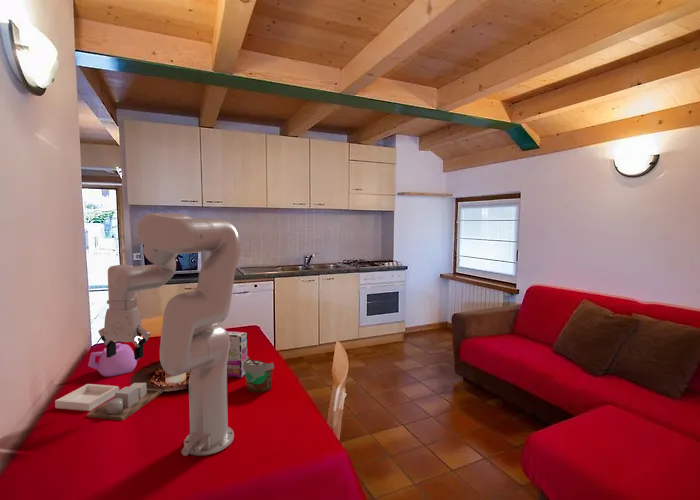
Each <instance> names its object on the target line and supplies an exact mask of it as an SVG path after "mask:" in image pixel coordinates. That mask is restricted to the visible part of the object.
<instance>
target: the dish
mask: <svg viewBox="0 0 700 500" xmlns="http://www.w3.org/2000/svg"><path fill="white" fill-rule="evenodd" d="M119 390H120V387H119V385H118V386H117V385H109V384H107V385H106V384H94V383H86V384H84V385H83V386H81V387H78V388H77V389H75V390H72V391H71V392H69V393H67V394H65V395H64V396H61V397H60V398H58V399H55V400H54V403H55V404H54V407H55V409H59V410H60V409H61V410H69V411H70V410H72V411H84V412H91V411H93V410H95V409H96V408H98V407H100V406H101V405H103V404H104V403H106V402H108V401H109V400H111V399H113V398H114V397H115V393H116V392H117V391H119Z"/></svg>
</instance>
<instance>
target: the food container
mask: <svg viewBox="0 0 700 500" xmlns="http://www.w3.org/2000/svg"><path fill="white" fill-rule="evenodd" d="M243 368H244V369H245V373H246V375H245V382H246V389H247V391H249V392H250V393H256V394H257V393H265V392H269V391H270V390H272V384H273V383H272V382H273V381H272V380H273V371H274V369H275V364H274V362H273V361H272V362H270V363H267V362H264V361H262V360H254V359H251V358H250V356H247V358H246V359H245V361H244V364H243Z"/></svg>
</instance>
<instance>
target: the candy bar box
mask: <svg viewBox="0 0 700 500" xmlns="http://www.w3.org/2000/svg"><path fill="white" fill-rule="evenodd" d="M226 331H227V332H228V334H229V337H230V351H229V356H228V362H227V377H231V378H239V379H241V378H243V377H245V376H246V373H245V369H244V368H243V364H244V361H245V359H246V358H247V357H248V335H247V334H248V333H247V332H242V331H241V332H240V331H231V330H229V331H228V330H226Z"/></svg>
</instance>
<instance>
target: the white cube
mask: <svg viewBox="0 0 700 500" xmlns="http://www.w3.org/2000/svg"><path fill="white" fill-rule="evenodd" d="M128 387H138V396H139V398H142V397H143V396H144V395H145V394H146V393H147V389H148V388H147V382H133V383H132V384H130V386H128Z"/></svg>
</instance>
